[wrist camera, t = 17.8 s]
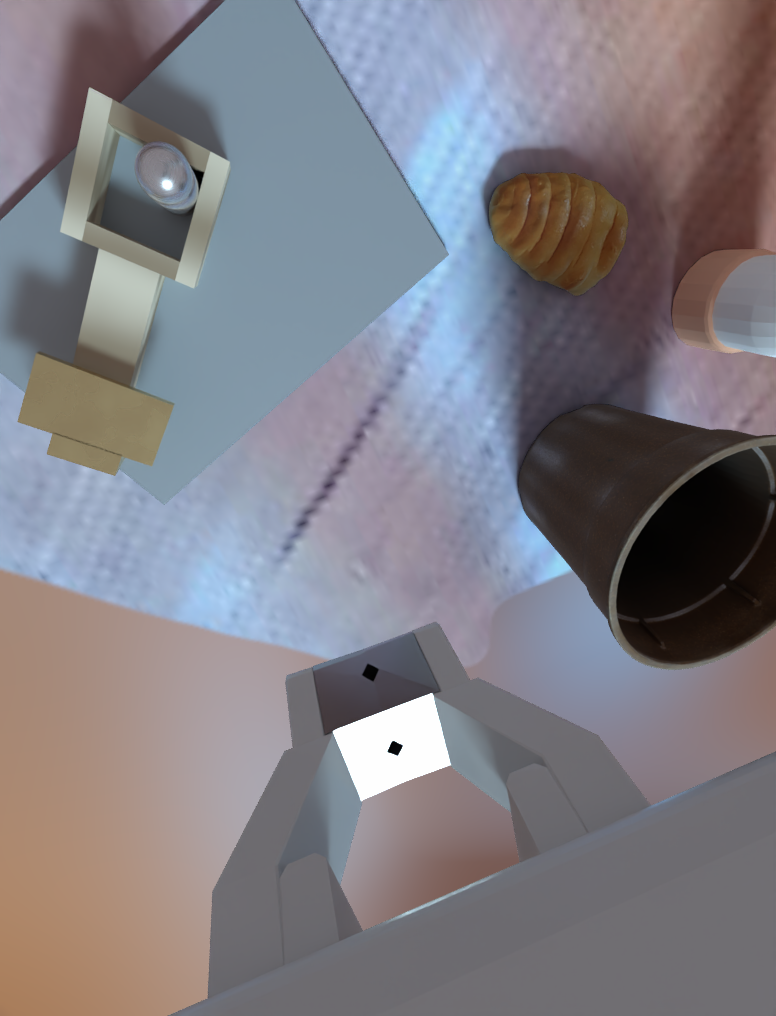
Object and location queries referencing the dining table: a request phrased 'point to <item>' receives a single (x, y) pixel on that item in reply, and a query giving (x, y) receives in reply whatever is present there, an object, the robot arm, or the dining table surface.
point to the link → (130, 239)
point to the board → (231, 236)
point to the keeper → (93, 415)
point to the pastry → (559, 228)
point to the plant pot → (661, 528)
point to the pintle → (167, 177)
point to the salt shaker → (729, 302)
